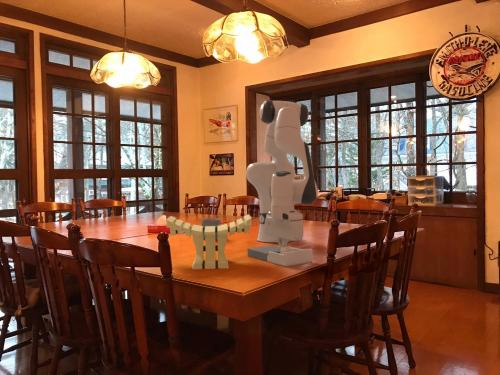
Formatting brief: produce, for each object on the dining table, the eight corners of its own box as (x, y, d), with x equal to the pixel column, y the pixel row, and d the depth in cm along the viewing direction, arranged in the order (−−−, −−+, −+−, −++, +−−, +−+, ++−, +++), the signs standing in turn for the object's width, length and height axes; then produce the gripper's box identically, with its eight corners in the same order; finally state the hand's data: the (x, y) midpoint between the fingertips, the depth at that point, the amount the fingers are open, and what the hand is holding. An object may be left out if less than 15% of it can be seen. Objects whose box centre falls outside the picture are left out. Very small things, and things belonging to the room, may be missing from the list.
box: (293, 257, 162) (293, 244, 162) (312, 262, 153) (312, 248, 153) (267, 261, 155) (267, 248, 155) (285, 267, 146) (285, 253, 146)
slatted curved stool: (248, 258, 162) (248, 213, 161) (252, 267, 146) (251, 217, 145) (172, 260, 159) (171, 215, 159) (167, 270, 144) (166, 219, 143)
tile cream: (290, 245, 157) (294, 248, 155) (288, 256, 158) (292, 259, 156) (280, 247, 154) (284, 249, 152) (278, 258, 156) (282, 260, 154)
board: (273, 252, 173) (273, 245, 173) (292, 257, 162) (292, 249, 162) (247, 255, 166) (247, 248, 166) (266, 261, 155) (266, 253, 155)
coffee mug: (217, 240, 205) (217, 220, 205) (199, 240, 207) (198, 220, 207) (224, 236, 219) (224, 217, 218) (206, 235, 220) (206, 217, 220)
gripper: (260, 212, 163) (260, 246, 164) (292, 216, 146) (293, 254, 147) (272, 211, 167) (273, 244, 167) (306, 215, 150) (306, 252, 150)
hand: (282, 249), depth 157 cm, fingers closed
